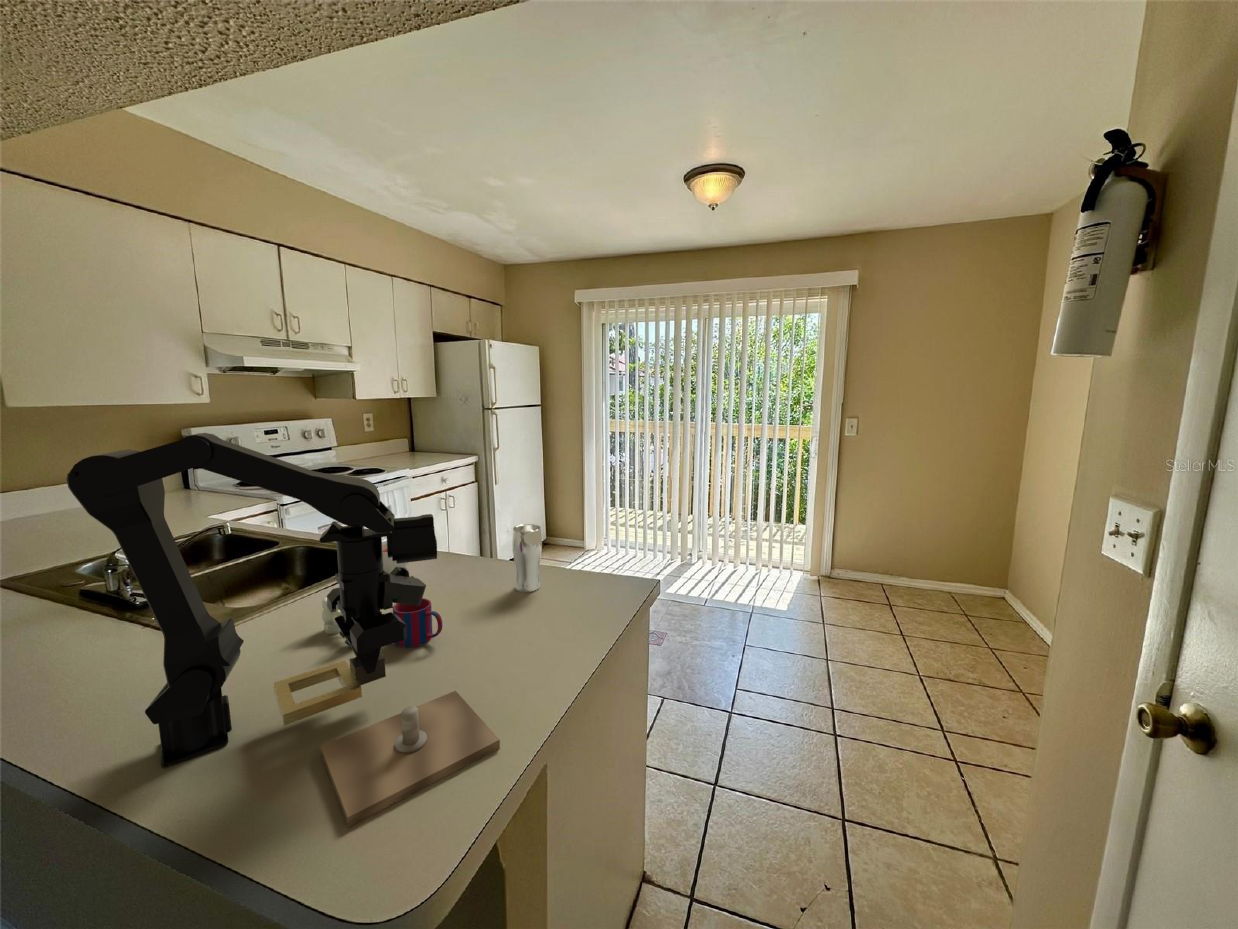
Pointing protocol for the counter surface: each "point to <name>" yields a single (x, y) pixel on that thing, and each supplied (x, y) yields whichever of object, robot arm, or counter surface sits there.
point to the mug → (417, 623)
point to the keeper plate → (404, 754)
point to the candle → (390, 561)
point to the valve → (331, 620)
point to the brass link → (351, 690)
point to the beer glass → (527, 556)
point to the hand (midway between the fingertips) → (367, 667)
